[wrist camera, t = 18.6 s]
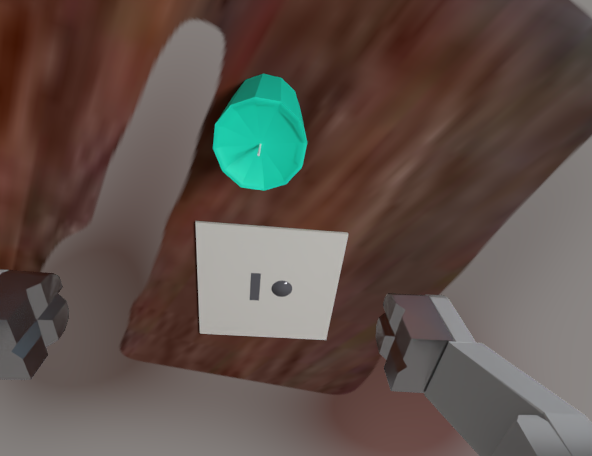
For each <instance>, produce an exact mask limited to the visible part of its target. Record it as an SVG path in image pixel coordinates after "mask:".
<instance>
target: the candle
mask: <svg viewBox="0 0 592 456" xmlns="http://www.w3.org/2000/svg"><path fill="white" fill-rule="evenodd" d="M306 146H307V139H306V134H305V129H304V125H303V120H302V115H301V110H300V107H299V103H298V100H297V97H296V93H295V91H294V90H293V89H292V88H291V87H290V86H289V85H288V84H287V83H286V82H285V81H284V80H283V79H282V78H280V77H275V76H271V75H267V74H261V75H258V76H255V77H252V78H249V79H246V80H245V81H244V83H243V84H242V85H241V86H240V88H239V89H238V90H237V92H236V93H235V94H234V96H233V97H232V99H231V100H230V102H229V103H228V105H227V107H226V108H225V110H224V111H223V113H222V114H221V116H220V117H219V119H218V121H217V122H216V124H215V130H214V141H213V150H214V152H215V155H216V157H217V160H218V162H219V164H220V167H221V169H222V171H223V172H224V173H225V174H226V175H227V176H229V177H230V178H231V179H232V180H233V181H234V182H235V183H237V184H238V185H239V186H240V187H242V188H249V189H256V190H264V191H265V190H268V189H271V188H275V187H278V186H282V185H285V184H287V183H288V182H289V181H290V180H291V179H292V177H293V176H294V175H295V174H296V173H297V172H298V171H299V170H300V169H301V168H302V165H303V160H304V156H305V151H306Z"/></svg>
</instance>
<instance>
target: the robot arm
mask: <svg viewBox="0 0 592 456" xmlns="http://www.w3.org/2000/svg"><path fill="white" fill-rule="evenodd" d="M62 287H63V286H62V284H61V280H60V277H59V276H58V275H56V274H54V273H42V272H30V271H17V270H1V269H0V379H21V380H23V379H24V380H25V379H26V380H27V379H29V380H30V379H32V377H33V376H34V374H35V373H36V372H37V370H38V369H39V367H40V366H41V364H42V363H43V361H44V360H45V359H46V357H47V356H48V353H47V348H46V347H47V346H49V345H51V344H52V343H54V342H55V341H57V340H59V338H60V337H61V335H62V334H63V332H64V331H65V328H66V325H67V322H68V318H69V308H68V304H67V301H66V300H65V299H63V298H62V297H61V296H60V295H59V294H58V293H59V292H60V290H61V289H62ZM383 307H384V309H385V313H384V314H382V315H381V316H380V317H379V319H378V322H377V326H376V342H377V347H378V350H379V353H380V354H381V355H382V356H383V357H384V358H385V359H386V363H385V366H384V370H385V373H386V376H387V380H388V383H389V386H390V389H391V391H400V392H417V393H425V394H424V395H425V396H426V397H427V398H428V400H429V401H430V402H431V403H432V404H433V405H434V406H435V407H436V408H437V410H438V411H439V412H440V413H441V414H442V415H443V416H444V417H445V418H446V419H447V420H448V422H449V423H450V424H451V425H452V426H453V427H454V428H455V429H456V431H457V432H458V433H459V434H460V435H461V436H462V437H463V438H464V439H465V440H466V441H467V443H468V444H469V445H470V446H471V447H472V448H473V449H474V450H475V451H476V452H477V454H478V455H479V456H592V423H591V422H590V420H589V419H588V418H587V416H586V415H584V414H583V413H581V412H580V411H579V410H577V409H576V408H574V407H573V406H571V405H570V404H569V403H567V402H566V401H564V400H563V399H562V398H560V397H559V396H557V395H556V394H554V393H553V392H552V391H550V390H549V389H547V388H546V387H544V386H543V385H542V384H540V383H539V382H537V381H536V380H534V379H533V378H531V377H530V376H529V375H527V374H526V373H524V372H523V371H521V370H520V369H519V368H517V367H516V366H514V365H513V364H511V363H510V362H509V361H507V360H506V359H504V358H503V357H501V356H500V355H498V354H497V353H496V352H494V351H493V350H491V349H490V348H488V347H487V346H486V345H484V344H483V343H476V342H475V340H474V338H473V337H472V335H471V334H470V332H469V331H468V329H467V327H466V326H465V324H464V322H463V321H462V319H461V318H460V316H459V314H458V313H457V311H456V310H455V308H454V307H453V306H452V303H451V302H450V300H449V299H448V298H447V297H446V296H444V295H414V294H395V293H388V294H387V296H386V297H385V299H384V303H383Z"/></svg>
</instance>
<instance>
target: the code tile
mask: <svg viewBox="0 0 592 456" xmlns="http://www.w3.org/2000/svg"><path fill="white" fill-rule="evenodd" d="M195 224H196V250H197V275H198V300H199V326H200V334H219V335H239V336H258V337H278V338H298V339H318V340H326V338H327V333H328V328H329V323H330V319H331V314H332V309H333V305H334V300H335V295H336V291H337V286H338V281H339V276H340V272H341V267H342V262H343V258H344V253H345V248H346V243H347V239H348V233H346V232H333V231H320V230H307V229H294V228H281V227H268V226H255V225H242V224H229V223H216V222H203V221H196V222H195Z"/></svg>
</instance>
